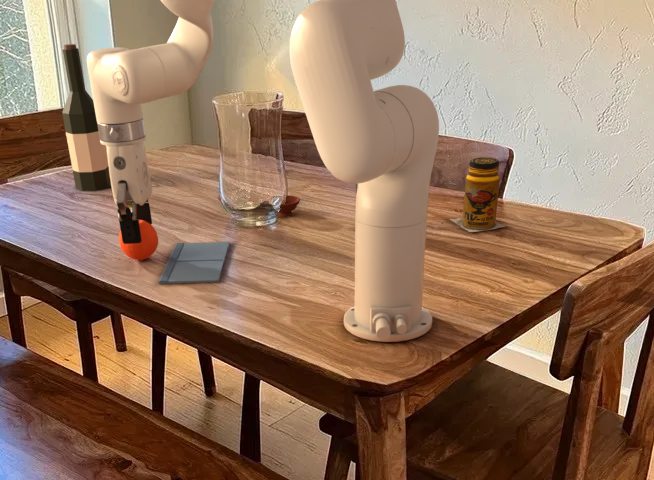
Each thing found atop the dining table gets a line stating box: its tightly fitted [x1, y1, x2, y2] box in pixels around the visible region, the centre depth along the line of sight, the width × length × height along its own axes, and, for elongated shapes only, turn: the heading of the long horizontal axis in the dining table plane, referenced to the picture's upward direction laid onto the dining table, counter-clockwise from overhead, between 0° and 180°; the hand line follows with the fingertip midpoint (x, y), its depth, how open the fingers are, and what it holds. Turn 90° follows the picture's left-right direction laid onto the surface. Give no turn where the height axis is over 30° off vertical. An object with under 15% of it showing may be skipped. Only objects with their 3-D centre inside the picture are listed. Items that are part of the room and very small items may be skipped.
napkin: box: [158, 241, 231, 285], centre depth 138 cm, size 19×10×1 cm, turn 177°
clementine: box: [118, 220, 159, 261], centre depth 139 cm, size 8×7×7 cm
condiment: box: [449, 156, 506, 233], centre depth 146 cm, size 7×8×12 cm
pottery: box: [217, 194, 301, 218], centre depth 162 cm, size 12×20×4 cm, turn 48°
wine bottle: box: [61, 43, 111, 192], centre depth 177 cm, size 8×8×30 cm
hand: (138, 234), depth 138 cm, fingers open, 9 cm apart
